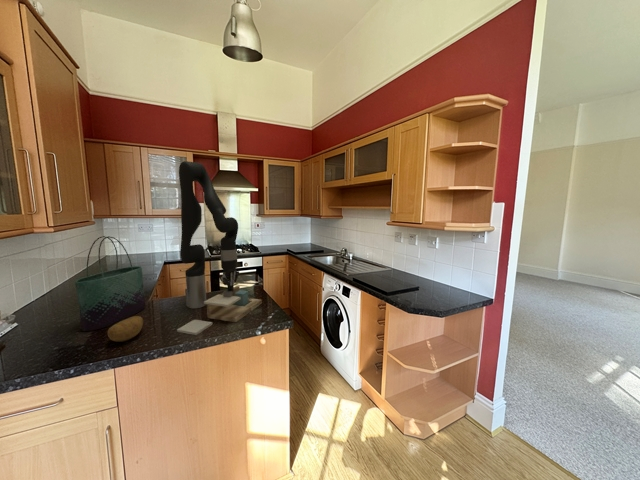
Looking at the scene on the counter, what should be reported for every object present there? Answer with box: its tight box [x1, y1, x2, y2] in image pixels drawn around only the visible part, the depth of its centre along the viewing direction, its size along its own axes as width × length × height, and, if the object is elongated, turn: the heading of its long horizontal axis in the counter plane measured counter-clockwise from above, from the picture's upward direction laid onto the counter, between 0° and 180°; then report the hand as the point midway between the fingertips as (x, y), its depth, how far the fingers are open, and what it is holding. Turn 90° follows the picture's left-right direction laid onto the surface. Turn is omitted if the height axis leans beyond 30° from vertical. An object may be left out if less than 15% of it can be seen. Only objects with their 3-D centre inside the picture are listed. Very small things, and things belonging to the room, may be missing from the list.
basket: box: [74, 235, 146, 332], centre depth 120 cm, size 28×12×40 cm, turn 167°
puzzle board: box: [206, 285, 263, 323], centre depth 131 cm, size 16×24×8 cm, turn 163°
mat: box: [176, 319, 213, 336], centre depth 113 cm, size 10×10×1 cm
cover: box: [204, 290, 241, 307], centre depth 121 cm, size 13×10×3 cm
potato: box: [107, 315, 144, 343], centre depth 104 cm, size 10×14×8 cm
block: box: [235, 289, 250, 306], centre depth 136 cm, size 5×5×8 cm
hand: (230, 292), depth 127 cm, fingers closed
